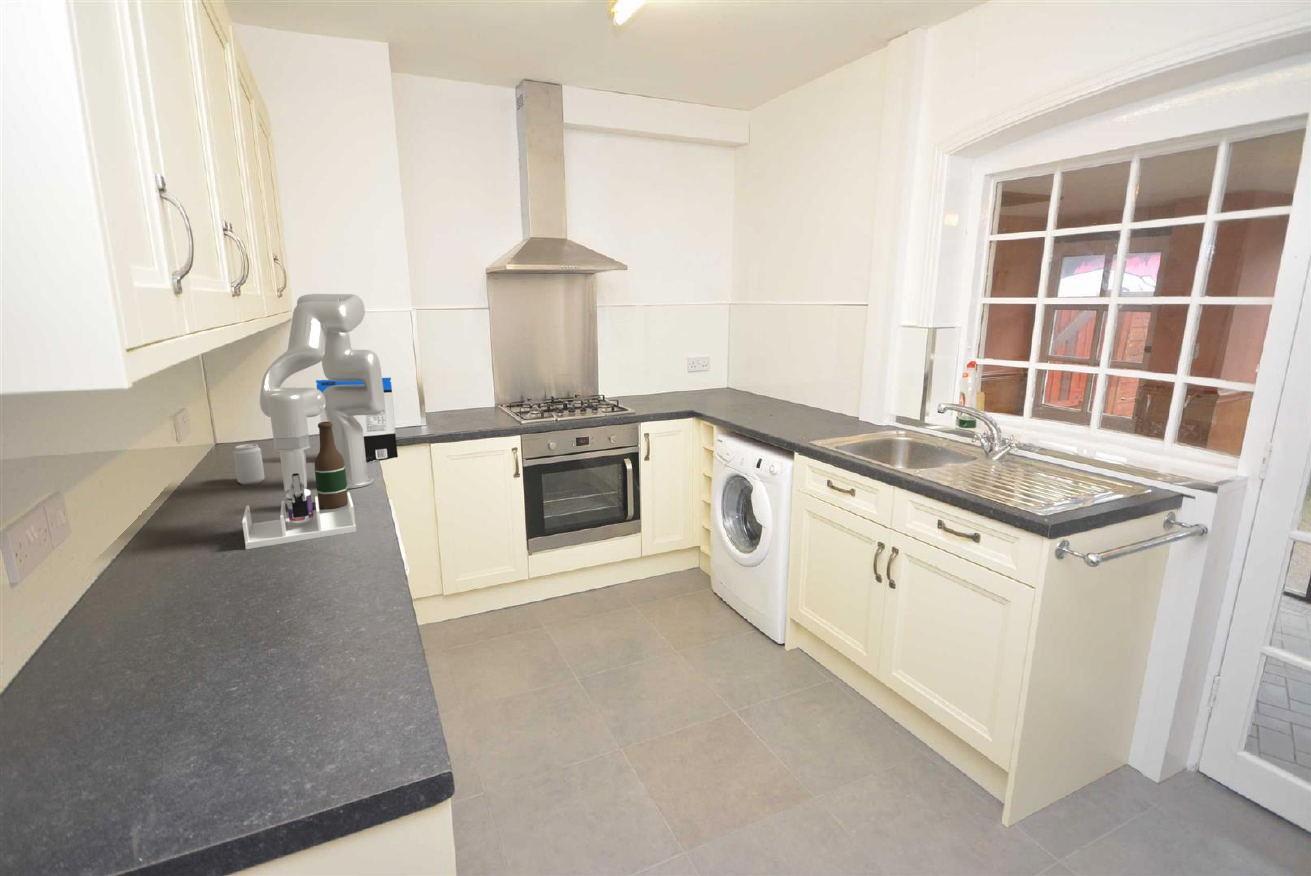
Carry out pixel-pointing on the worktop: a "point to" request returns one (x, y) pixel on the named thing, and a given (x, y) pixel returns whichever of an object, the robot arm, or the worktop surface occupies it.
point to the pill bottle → (309, 505)
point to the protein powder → (373, 423)
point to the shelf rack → (297, 527)
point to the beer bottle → (330, 471)
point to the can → (248, 464)
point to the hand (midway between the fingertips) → (300, 512)
